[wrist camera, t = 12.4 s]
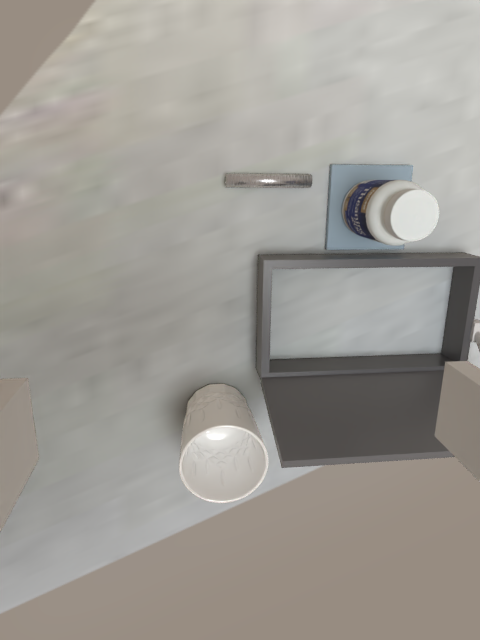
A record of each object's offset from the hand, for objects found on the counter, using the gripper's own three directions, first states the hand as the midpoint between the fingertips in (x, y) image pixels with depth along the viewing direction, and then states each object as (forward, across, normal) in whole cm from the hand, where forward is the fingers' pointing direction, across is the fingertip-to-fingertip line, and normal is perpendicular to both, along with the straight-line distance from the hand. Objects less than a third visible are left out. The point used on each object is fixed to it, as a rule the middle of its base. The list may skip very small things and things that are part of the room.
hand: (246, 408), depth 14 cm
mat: (+32, +16, +4) cm, 36 cm away
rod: (+32, +6, +7) cm, 33 cm away
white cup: (+32, +1, -17) cm, 36 cm away
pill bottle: (+31, +16, +4) cm, 35 cm away
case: (+32, +16, -7) cm, 36 cm away
